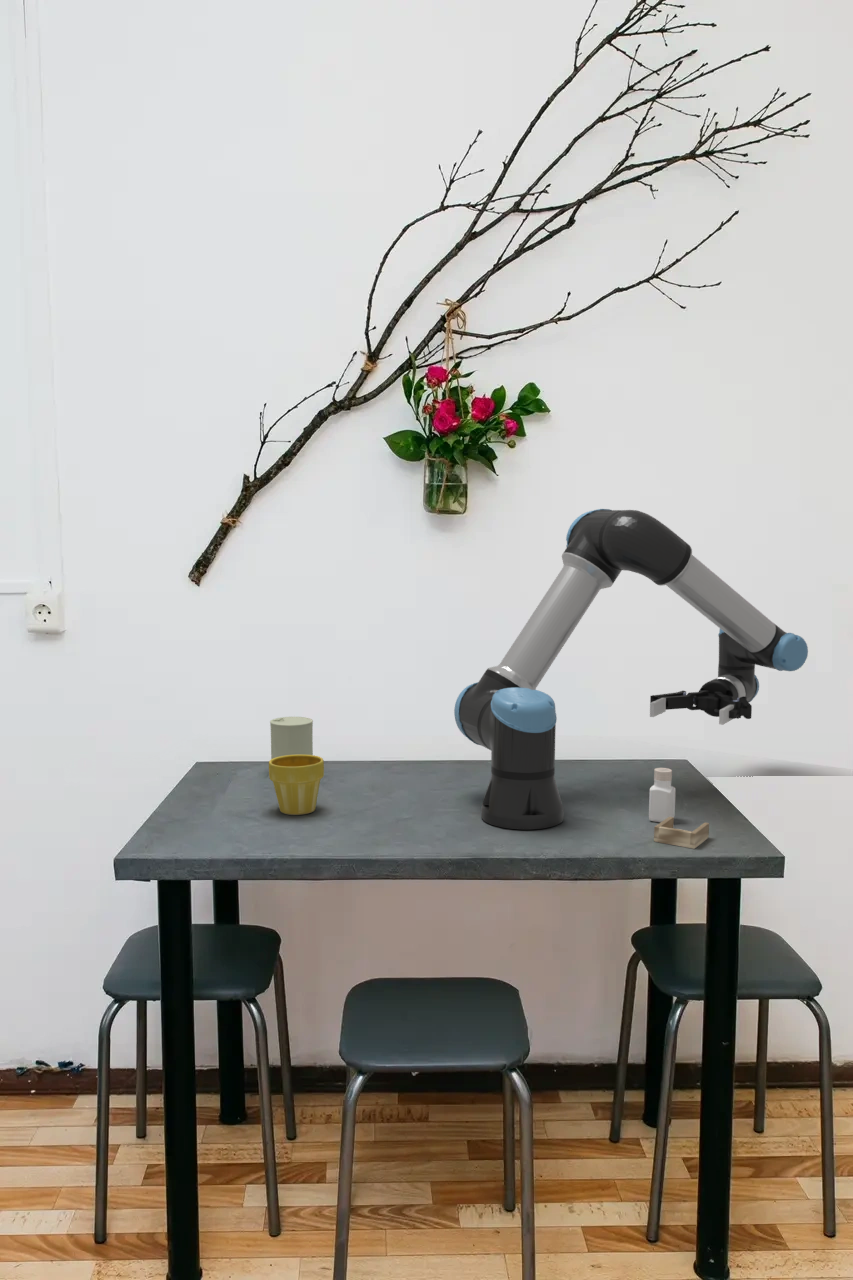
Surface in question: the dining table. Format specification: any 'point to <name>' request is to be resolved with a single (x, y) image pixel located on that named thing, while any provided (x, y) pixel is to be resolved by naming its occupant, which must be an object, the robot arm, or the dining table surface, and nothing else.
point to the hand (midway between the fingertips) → (685, 713)
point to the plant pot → (296, 782)
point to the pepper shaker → (662, 796)
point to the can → (291, 736)
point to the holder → (680, 834)
